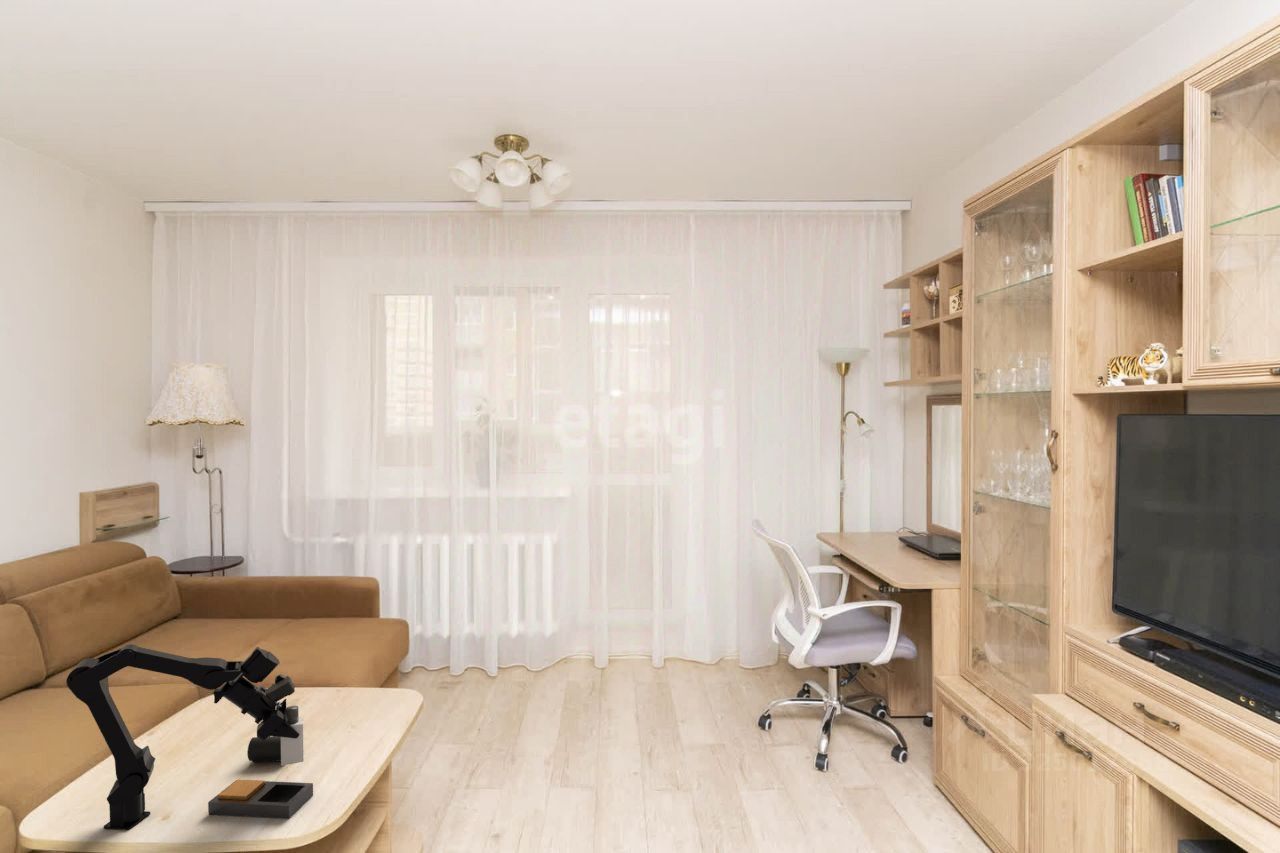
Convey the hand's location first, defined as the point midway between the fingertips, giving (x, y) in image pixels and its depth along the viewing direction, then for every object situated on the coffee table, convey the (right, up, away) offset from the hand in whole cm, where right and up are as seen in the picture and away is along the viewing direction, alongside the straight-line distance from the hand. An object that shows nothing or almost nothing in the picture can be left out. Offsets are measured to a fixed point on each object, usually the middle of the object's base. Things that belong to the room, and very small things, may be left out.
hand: (298, 732), depth 178 cm
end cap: (-13, -14, +13) cm, 23 cm away
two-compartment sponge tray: (-4, -14, -9) cm, 17 cm away
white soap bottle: (-1, -7, 0) cm, 7 cm away
